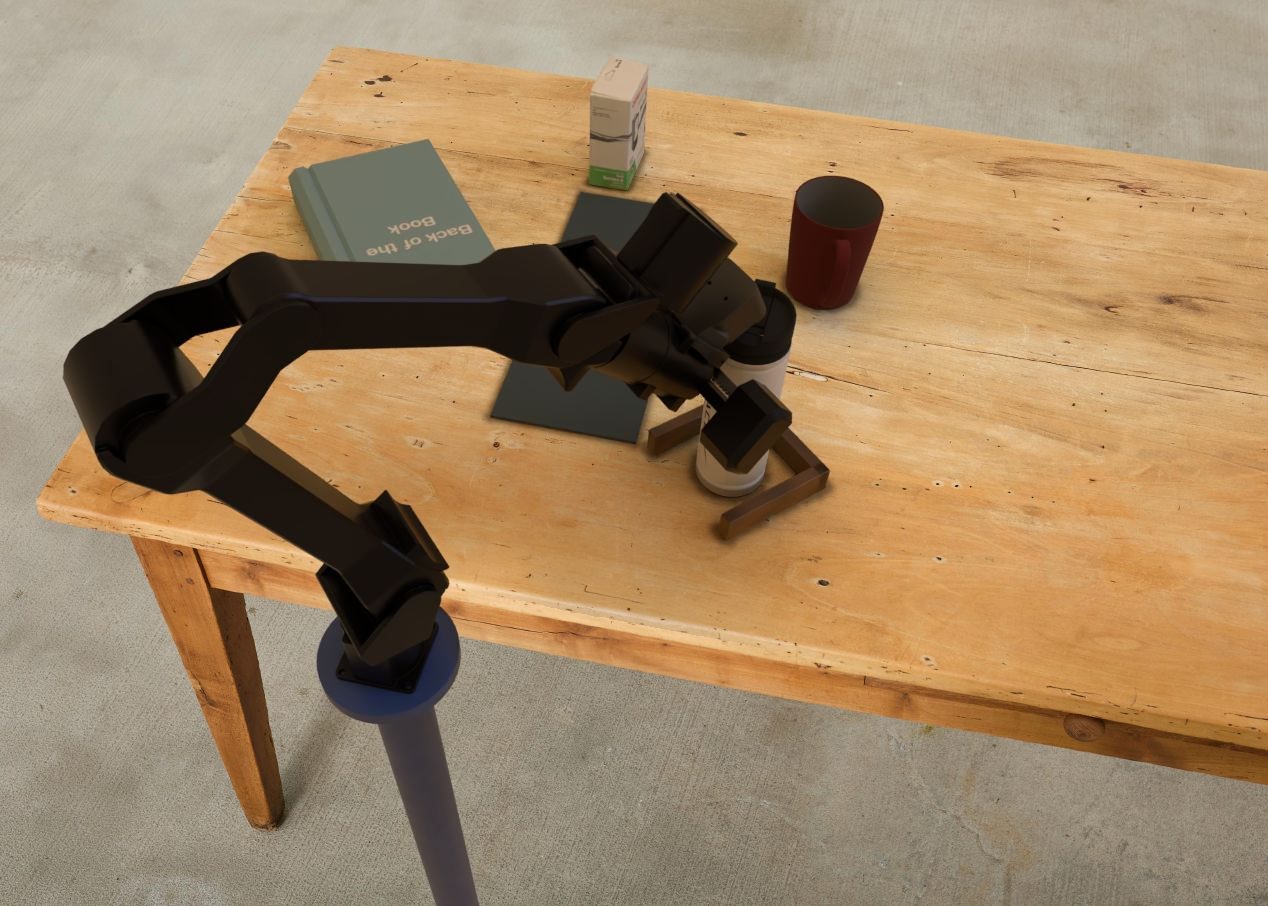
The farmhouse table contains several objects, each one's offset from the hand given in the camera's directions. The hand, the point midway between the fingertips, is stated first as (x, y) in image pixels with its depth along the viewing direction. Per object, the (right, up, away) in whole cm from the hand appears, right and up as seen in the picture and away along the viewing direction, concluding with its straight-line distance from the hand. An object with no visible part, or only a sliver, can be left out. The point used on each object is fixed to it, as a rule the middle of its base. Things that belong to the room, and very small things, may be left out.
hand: (741, 391), depth 88 cm
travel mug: (0, -7, +8) cm, 11 cm away
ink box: (-11, +29, +38) cm, 49 cm away
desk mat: (-12, +10, +22) cm, 27 cm away
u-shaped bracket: (0, -7, +8) cm, 10 cm away
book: (-35, +17, +26) cm, 47 cm away
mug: (+11, +11, +24) cm, 29 cm away
